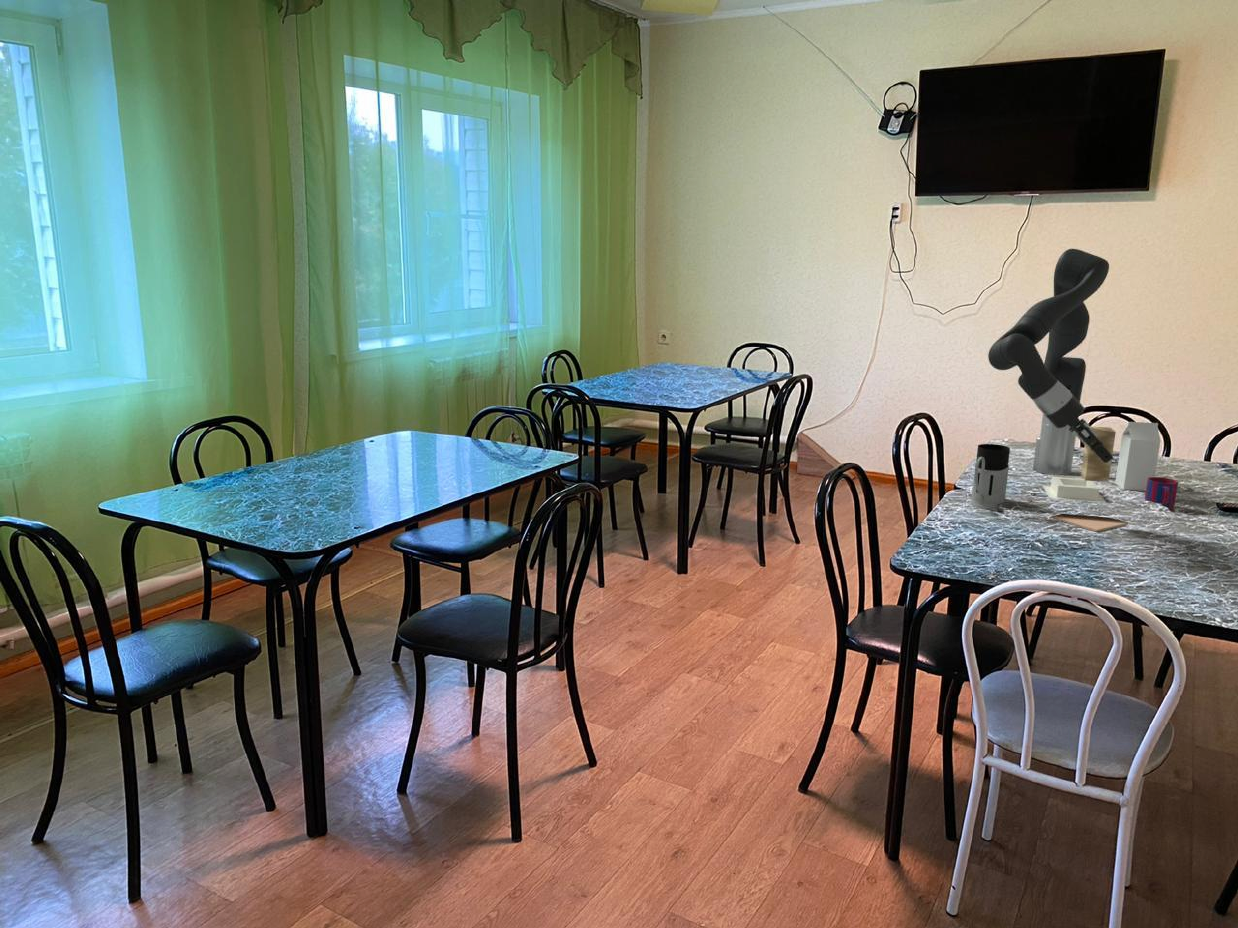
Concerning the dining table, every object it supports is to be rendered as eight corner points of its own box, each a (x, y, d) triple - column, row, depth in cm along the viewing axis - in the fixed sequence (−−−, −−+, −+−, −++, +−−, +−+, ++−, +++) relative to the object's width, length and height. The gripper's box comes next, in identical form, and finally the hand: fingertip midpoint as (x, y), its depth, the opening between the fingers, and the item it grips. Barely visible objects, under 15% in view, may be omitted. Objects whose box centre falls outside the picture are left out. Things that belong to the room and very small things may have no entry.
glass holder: (1011, 504, 234) (1018, 447, 231) (989, 516, 224) (995, 456, 221) (977, 498, 240) (983, 441, 237) (954, 509, 230) (960, 450, 227)
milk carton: (1151, 496, 243) (1163, 425, 239) (1122, 494, 245) (1133, 424, 240) (1142, 489, 250) (1153, 420, 246) (1114, 487, 252) (1124, 419, 247)
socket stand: (1049, 504, 236) (1052, 486, 234) (1041, 490, 248) (1043, 474, 247) (1106, 508, 232) (1108, 491, 231) (1094, 494, 244) (1097, 478, 243)
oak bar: (1085, 480, 217) (1092, 430, 214) (1080, 475, 222) (1087, 426, 219) (1108, 482, 216) (1115, 431, 213) (1103, 476, 221) (1110, 427, 218)
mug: (1173, 504, 237) (1177, 478, 235) (1176, 514, 228) (1180, 488, 226) (1143, 501, 239) (1147, 475, 238) (1145, 511, 231) (1149, 484, 229)
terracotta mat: (1050, 518, 224) (1050, 516, 224) (1081, 511, 229) (1081, 509, 229) (1096, 531, 213) (1096, 529, 213) (1127, 524, 219) (1128, 522, 219)
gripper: (1077, 398, 209) (1128, 454, 209) (1065, 388, 223) (1113, 441, 223) (1049, 419, 212) (1099, 474, 212) (1039, 409, 225) (1086, 460, 225)
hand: (1106, 457), depth 217 cm, fingers closed on oak bar, 5 cm apart
